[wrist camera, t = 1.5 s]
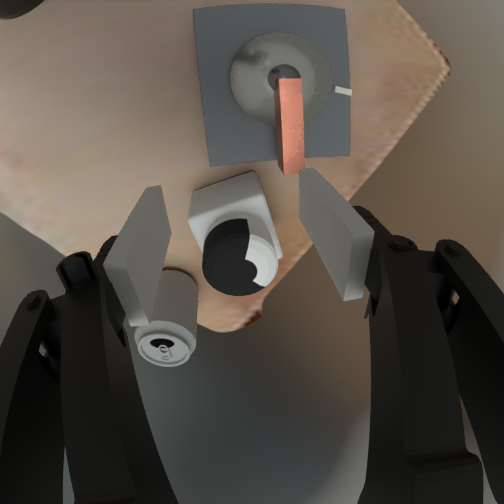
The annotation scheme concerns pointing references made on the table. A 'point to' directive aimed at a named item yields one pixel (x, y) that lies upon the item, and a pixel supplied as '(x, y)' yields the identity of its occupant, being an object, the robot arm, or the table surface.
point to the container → (235, 235)
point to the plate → (220, 94)
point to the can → (170, 321)
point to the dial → (282, 89)
